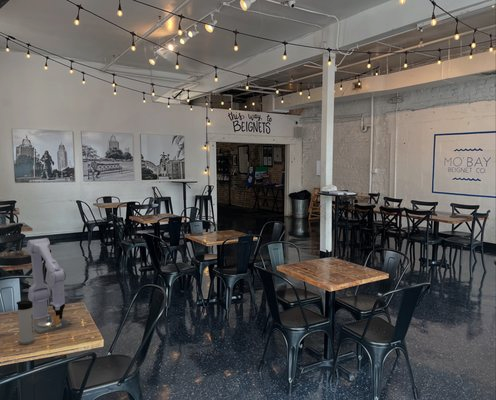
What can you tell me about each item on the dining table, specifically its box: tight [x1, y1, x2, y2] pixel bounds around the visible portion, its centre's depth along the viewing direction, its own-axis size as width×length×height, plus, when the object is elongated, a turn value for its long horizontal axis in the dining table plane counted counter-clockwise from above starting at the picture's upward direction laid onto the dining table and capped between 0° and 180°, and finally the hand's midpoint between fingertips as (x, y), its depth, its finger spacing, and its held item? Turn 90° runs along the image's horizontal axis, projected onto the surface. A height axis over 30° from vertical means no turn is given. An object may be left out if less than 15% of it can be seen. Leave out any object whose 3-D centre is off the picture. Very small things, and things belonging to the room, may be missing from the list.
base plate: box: [34, 316, 72, 335], centre depth 206 cm, size 16×16×3 cm
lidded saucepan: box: [37, 314, 62, 327], centre depth 205 cm, size 14×11×5 cm
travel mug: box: [16, 300, 36, 346], centre depth 185 cm, size 6×7×20 cm
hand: (59, 319), depth 205 cm, fingers closed, pressing on lidded saucepan
